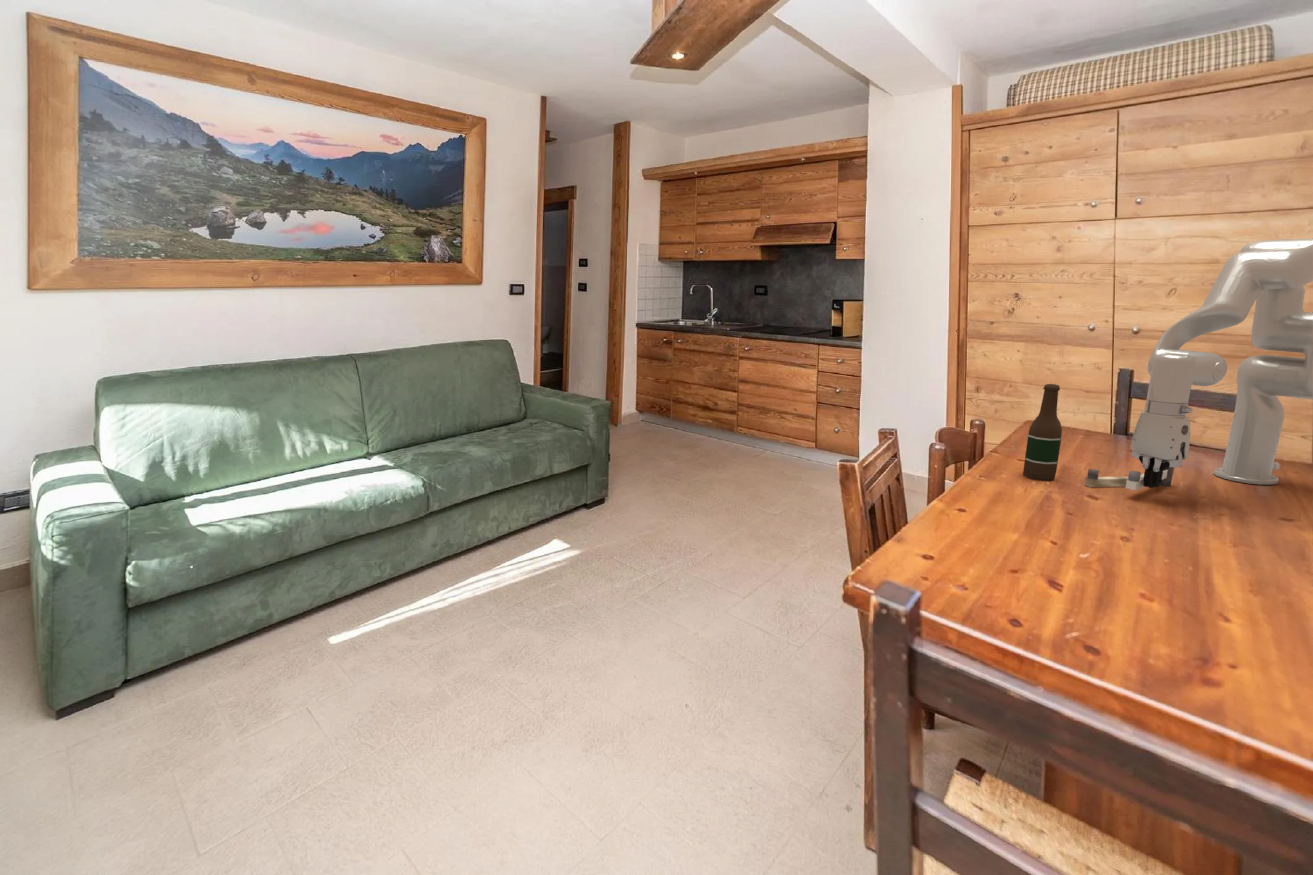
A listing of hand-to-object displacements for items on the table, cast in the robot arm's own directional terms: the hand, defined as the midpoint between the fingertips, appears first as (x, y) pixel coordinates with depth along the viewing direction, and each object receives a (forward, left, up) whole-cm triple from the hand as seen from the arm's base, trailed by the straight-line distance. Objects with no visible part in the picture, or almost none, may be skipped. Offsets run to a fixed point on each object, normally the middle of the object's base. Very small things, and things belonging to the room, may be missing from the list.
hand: (1151, 486), depth 155 cm
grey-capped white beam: (-6, -9, -3) cm, 11 cm away
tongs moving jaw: (-4, -4, -1) cm, 6 cm away
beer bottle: (+9, -22, -3) cm, 24 cm away
